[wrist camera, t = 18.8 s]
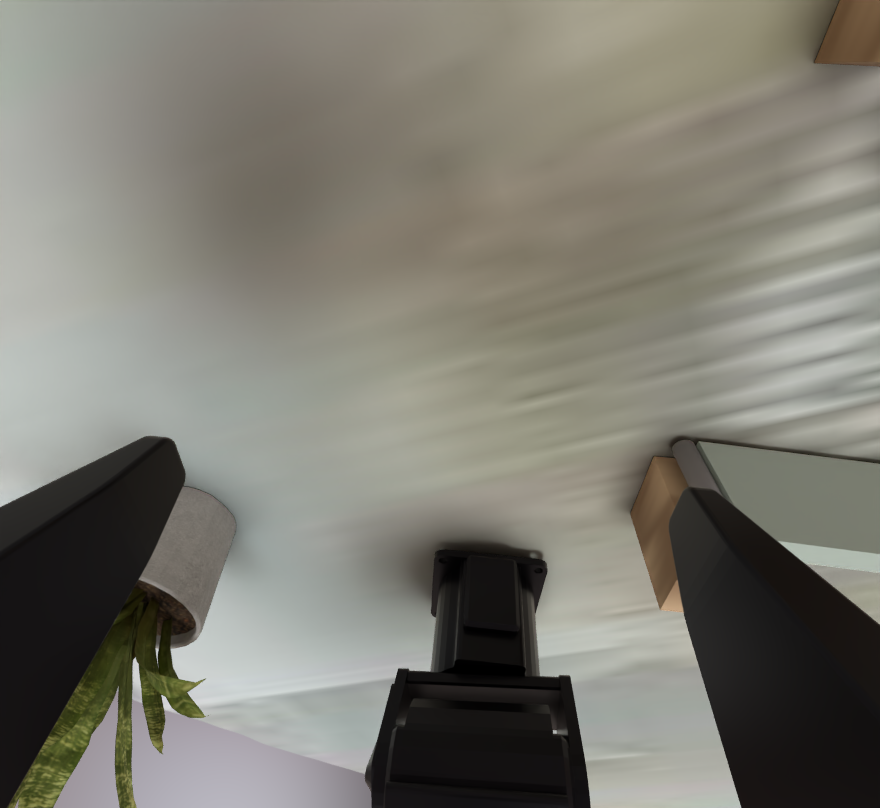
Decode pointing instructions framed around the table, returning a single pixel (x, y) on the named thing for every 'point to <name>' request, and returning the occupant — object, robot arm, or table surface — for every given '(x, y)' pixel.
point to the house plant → (141, 650)
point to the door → (796, 499)
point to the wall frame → (848, 43)
